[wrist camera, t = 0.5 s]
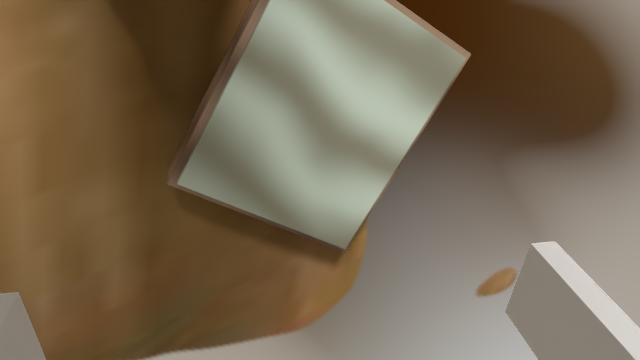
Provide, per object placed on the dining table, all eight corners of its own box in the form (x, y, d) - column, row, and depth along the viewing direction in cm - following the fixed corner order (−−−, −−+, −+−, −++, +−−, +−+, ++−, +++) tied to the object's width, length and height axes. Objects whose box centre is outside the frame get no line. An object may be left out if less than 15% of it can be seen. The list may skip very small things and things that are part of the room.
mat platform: (285, -68, 29) (297, -73, 26) (449, 48, 36) (475, 55, 33) (168, 168, 34) (166, 187, 30) (334, 234, 40) (346, 256, 37)
